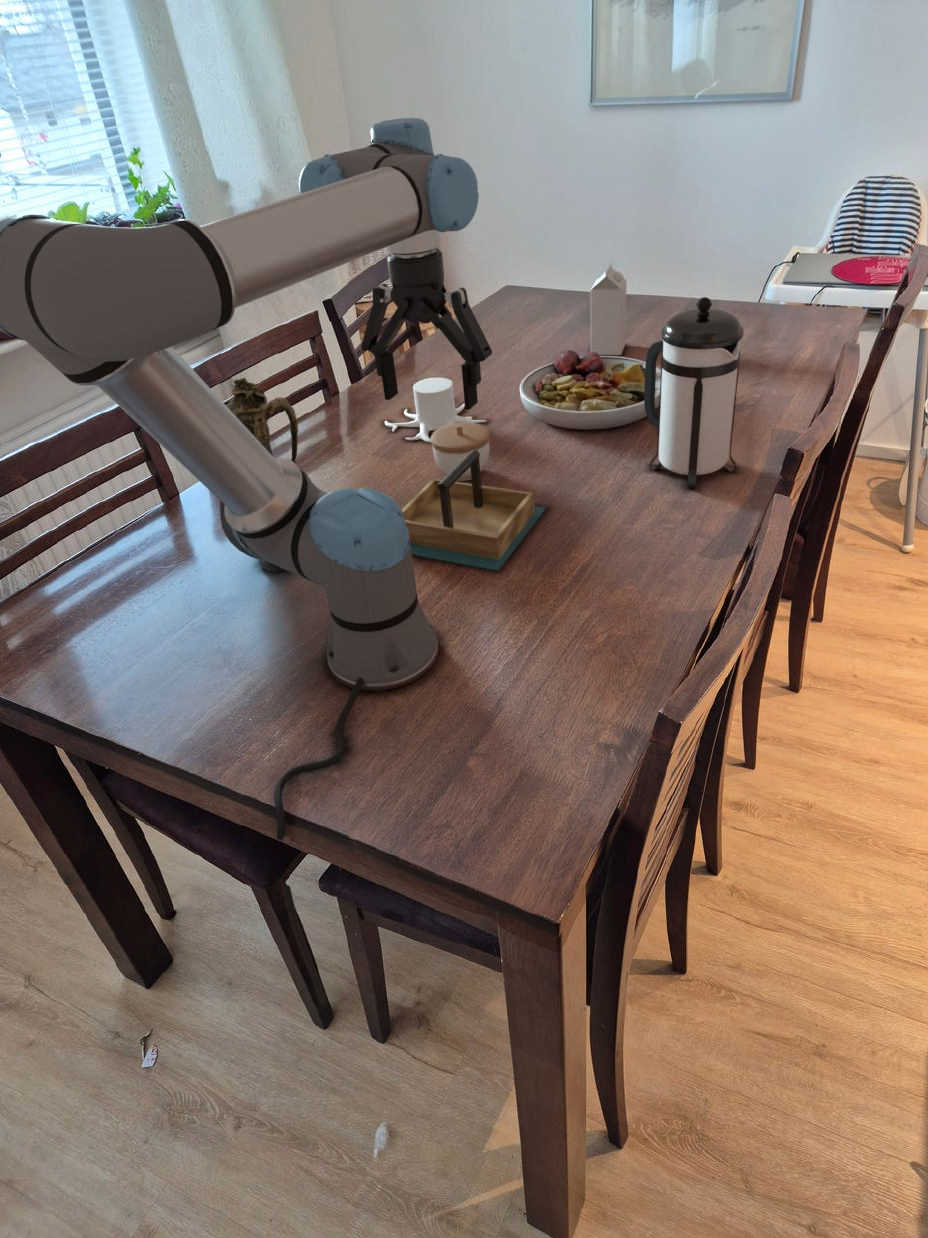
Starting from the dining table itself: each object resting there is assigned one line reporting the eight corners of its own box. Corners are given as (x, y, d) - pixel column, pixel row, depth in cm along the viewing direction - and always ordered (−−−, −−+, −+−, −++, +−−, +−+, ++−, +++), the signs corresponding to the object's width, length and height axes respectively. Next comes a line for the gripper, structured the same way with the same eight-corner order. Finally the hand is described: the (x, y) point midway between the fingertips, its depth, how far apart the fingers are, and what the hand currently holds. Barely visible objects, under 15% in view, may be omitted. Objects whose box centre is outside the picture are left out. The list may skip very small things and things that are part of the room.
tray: (498, 560, 135) (493, 496, 128) (394, 540, 142) (384, 479, 136) (534, 513, 145) (531, 452, 139) (435, 497, 153) (428, 439, 146)
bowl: (696, 413, 171) (698, 374, 167) (561, 449, 164) (560, 410, 159) (619, 367, 194) (620, 332, 190) (498, 397, 187) (495, 362, 182)
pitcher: (227, 579, 138) (173, 402, 120) (292, 520, 152) (251, 353, 134) (284, 590, 134) (236, 408, 116) (345, 529, 148) (310, 357, 130)
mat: (497, 571, 133) (497, 569, 133) (381, 549, 141) (381, 547, 141) (545, 509, 147) (545, 507, 147) (437, 492, 155) (436, 490, 155)
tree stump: (468, 396, 189) (465, 360, 184) (493, 430, 174) (491, 392, 169) (379, 414, 186) (374, 377, 181) (397, 450, 171) (391, 411, 166)
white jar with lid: (487, 487, 155) (483, 439, 149) (429, 486, 157) (423, 439, 152) (497, 460, 163) (493, 413, 158) (442, 459, 165) (436, 413, 160)
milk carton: (590, 355, 202) (590, 271, 191) (595, 344, 207) (595, 262, 196) (620, 355, 200) (622, 271, 189) (625, 345, 205) (627, 261, 194)
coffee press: (738, 450, 157) (756, 280, 139) (732, 492, 145) (751, 313, 128) (643, 445, 162) (648, 281, 145) (629, 485, 151) (634, 312, 133)
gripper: (509, 246, 114) (517, 399, 126) (351, 241, 124) (372, 384, 136) (485, 261, 108) (495, 420, 121) (322, 255, 118) (347, 402, 131)
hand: (430, 401), depth 129 cm, fingers open, 13 cm apart
